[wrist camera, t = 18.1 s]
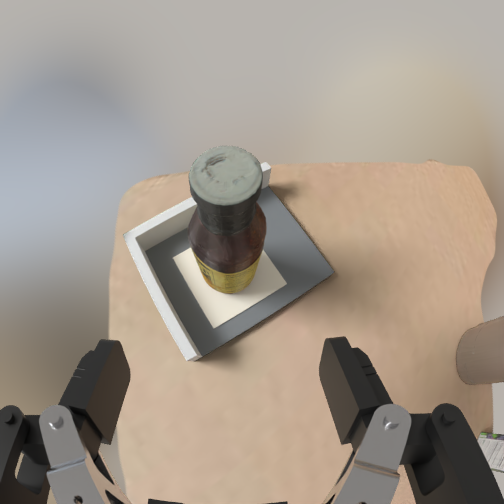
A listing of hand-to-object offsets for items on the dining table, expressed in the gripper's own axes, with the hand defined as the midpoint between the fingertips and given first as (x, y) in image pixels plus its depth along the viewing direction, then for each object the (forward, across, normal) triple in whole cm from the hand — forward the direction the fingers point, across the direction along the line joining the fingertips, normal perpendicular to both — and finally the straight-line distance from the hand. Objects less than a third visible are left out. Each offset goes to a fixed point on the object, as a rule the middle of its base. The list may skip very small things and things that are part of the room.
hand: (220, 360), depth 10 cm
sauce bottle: (+22, 0, +7) cm, 23 cm away
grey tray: (+24, 0, +7) cm, 25 cm away
